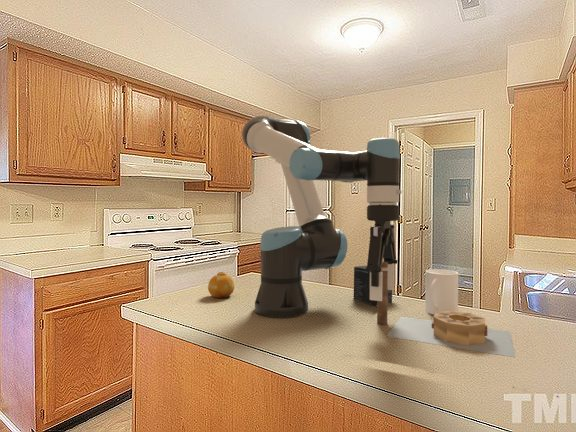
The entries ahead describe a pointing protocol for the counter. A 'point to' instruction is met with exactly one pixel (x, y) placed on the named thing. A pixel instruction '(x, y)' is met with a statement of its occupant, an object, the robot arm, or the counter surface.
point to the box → (364, 286)
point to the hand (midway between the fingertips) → (382, 294)
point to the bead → (459, 327)
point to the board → (424, 332)
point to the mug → (441, 291)
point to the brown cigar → (383, 296)
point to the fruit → (221, 285)
